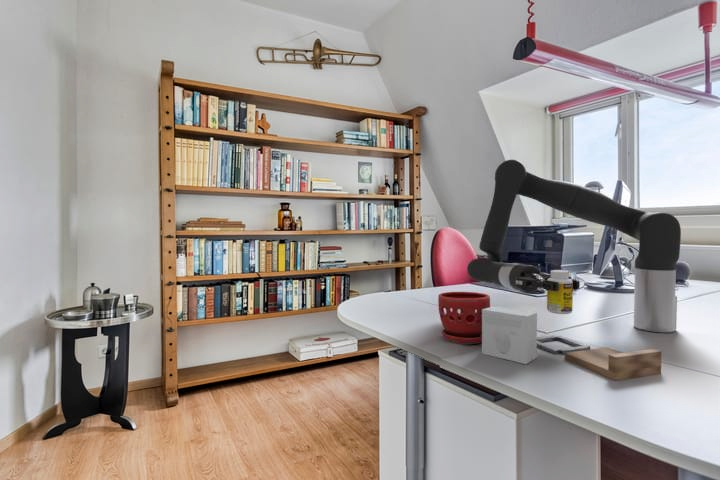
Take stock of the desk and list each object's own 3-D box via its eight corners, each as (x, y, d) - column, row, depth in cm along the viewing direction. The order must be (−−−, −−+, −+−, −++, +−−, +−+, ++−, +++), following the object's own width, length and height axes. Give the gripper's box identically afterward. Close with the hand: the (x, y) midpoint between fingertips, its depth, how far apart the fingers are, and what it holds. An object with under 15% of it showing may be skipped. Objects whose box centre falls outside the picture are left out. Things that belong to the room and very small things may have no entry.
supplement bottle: (565, 316, 88) (564, 272, 88) (542, 311, 93) (542, 270, 92) (577, 312, 91) (577, 270, 91) (554, 308, 96) (554, 268, 96)
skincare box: (537, 357, 85) (538, 311, 84) (526, 365, 80) (527, 316, 80) (493, 347, 92) (493, 304, 92) (480, 353, 87) (480, 309, 87)
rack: (606, 353, 87) (606, 334, 86) (660, 373, 75) (661, 351, 75) (564, 359, 83) (564, 339, 83) (615, 380, 72) (615, 357, 71)
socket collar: (558, 337, 99) (558, 334, 99) (593, 350, 89) (593, 347, 89) (525, 341, 96) (525, 338, 96) (557, 355, 86) (557, 351, 86)
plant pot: (498, 338, 99) (498, 293, 98) (475, 350, 89) (475, 301, 89) (453, 329, 108) (453, 288, 107) (428, 339, 98) (428, 294, 98)
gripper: (497, 265, 103) (543, 272, 87) (540, 262, 107) (591, 268, 91) (497, 292, 104) (543, 304, 87) (540, 288, 108) (591, 299, 92)
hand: (568, 285), depth 89 cm, fingers closed on supplement bottle, 5 cm apart
